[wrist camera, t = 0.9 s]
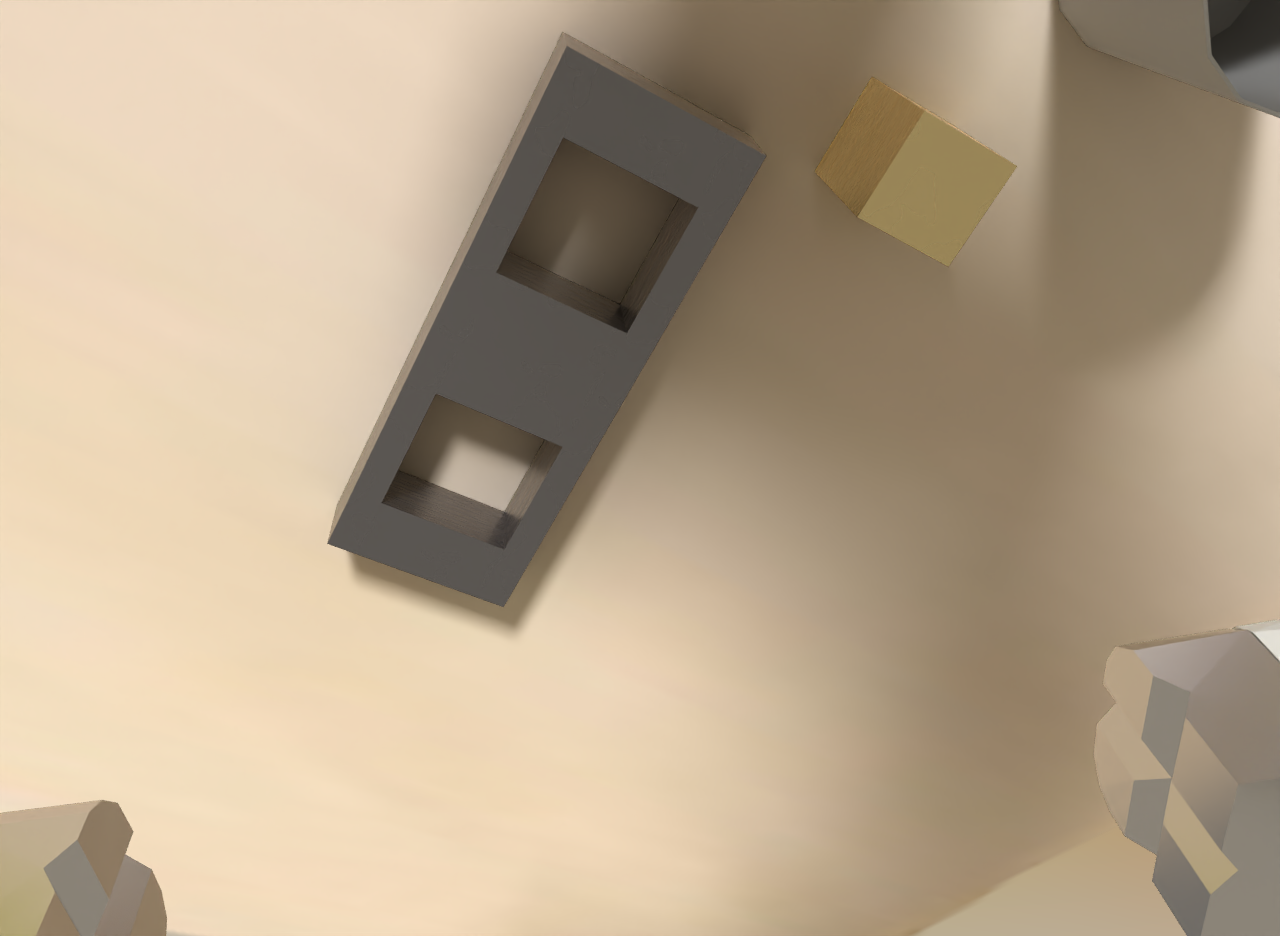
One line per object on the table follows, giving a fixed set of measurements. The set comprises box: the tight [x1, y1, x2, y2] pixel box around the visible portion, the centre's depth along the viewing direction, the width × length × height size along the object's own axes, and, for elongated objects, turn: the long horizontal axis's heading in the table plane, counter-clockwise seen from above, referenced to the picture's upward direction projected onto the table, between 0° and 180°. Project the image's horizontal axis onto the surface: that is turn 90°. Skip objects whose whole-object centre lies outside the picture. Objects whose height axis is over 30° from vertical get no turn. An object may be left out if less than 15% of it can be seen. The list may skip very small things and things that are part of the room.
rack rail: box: [327, 32, 766, 607], centre depth 44 cm, size 22×8×3 cm, turn 152°
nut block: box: [815, 77, 1017, 267], centre depth 40 cm, size 4×4×6 cm
